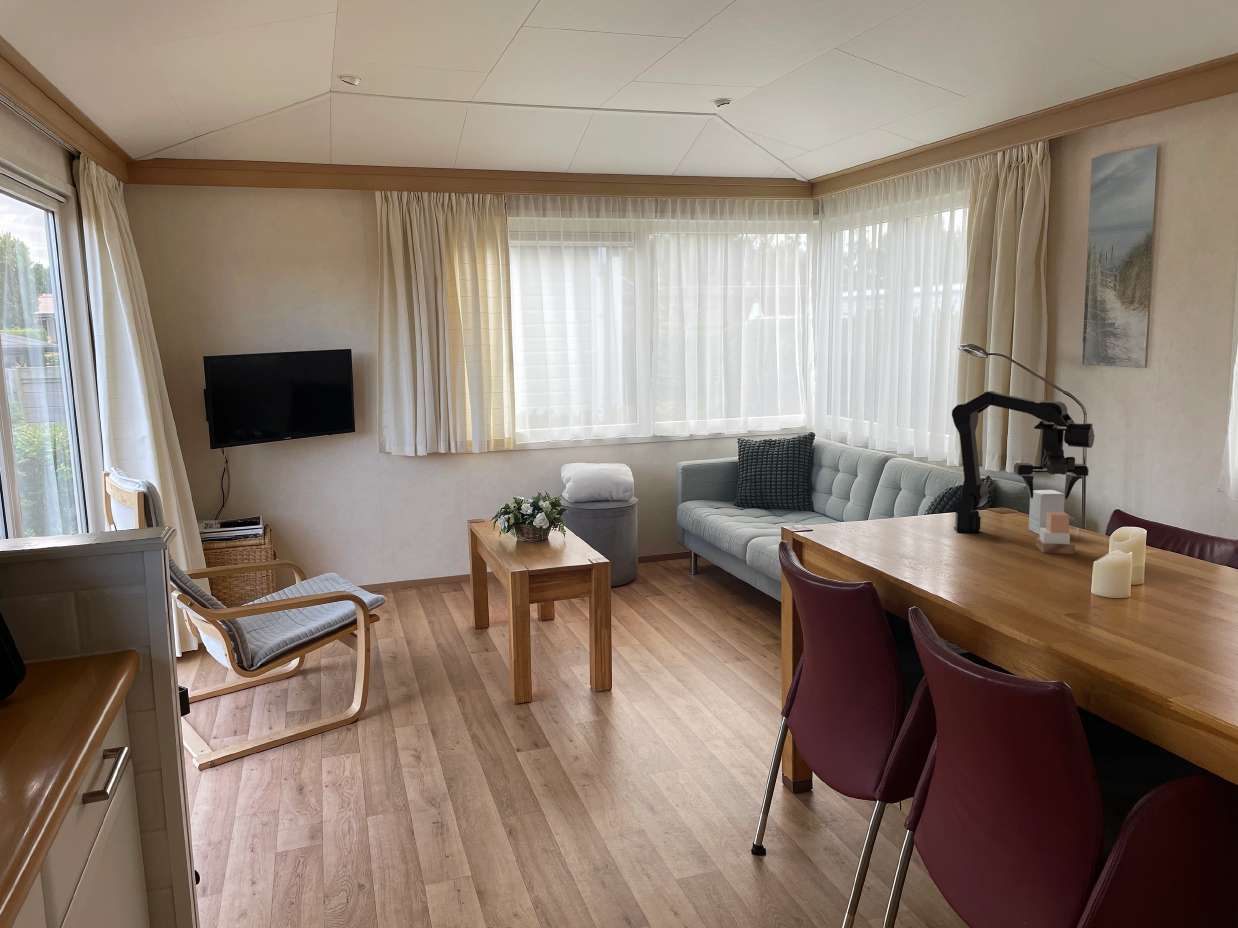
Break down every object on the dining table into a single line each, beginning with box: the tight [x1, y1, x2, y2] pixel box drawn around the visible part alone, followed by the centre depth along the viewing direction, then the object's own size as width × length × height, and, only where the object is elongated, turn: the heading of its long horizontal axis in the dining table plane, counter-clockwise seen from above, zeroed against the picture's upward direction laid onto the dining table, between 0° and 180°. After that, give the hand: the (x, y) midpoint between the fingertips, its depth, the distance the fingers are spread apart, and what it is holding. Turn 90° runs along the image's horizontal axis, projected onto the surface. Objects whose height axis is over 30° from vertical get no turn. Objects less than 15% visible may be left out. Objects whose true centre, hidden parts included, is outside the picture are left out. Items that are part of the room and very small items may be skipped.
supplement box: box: [1028, 489, 1066, 536], centre depth 262 cm, size 7×7×13 cm
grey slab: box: [1038, 528, 1071, 544], centre depth 242 cm, size 6×6×3 cm
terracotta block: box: [1046, 511, 1070, 533], centre depth 241 cm, size 5×5×5 cm
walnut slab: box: [1035, 537, 1076, 555], centre depth 242 cm, size 8×8×3 cm
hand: (1048, 498), depth 249 cm, fingers open, 9 cm apart
